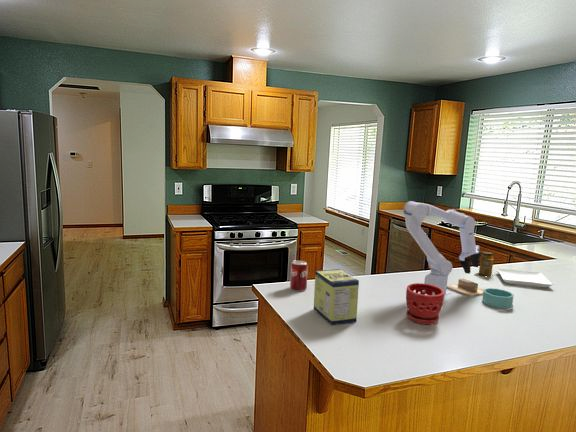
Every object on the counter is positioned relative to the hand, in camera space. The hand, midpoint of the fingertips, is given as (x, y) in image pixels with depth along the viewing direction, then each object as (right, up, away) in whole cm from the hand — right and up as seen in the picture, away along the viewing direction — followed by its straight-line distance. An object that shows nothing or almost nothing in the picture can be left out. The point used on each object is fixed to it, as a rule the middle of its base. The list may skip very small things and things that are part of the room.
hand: (471, 269), depth 185 cm
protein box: (-66, -13, -33) cm, 75 cm away
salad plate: (+34, -9, +20) cm, 41 cm away
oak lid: (-2, -9, 0) cm, 10 cm away
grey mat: (-2, -10, +1) cm, 10 cm away
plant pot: (-33, -14, -33) cm, 49 cm away
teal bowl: (+4, -12, -14) cm, 19 cm away
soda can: (-78, -8, -5) cm, 79 cm away
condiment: (+19, -7, +28) cm, 35 cm away
